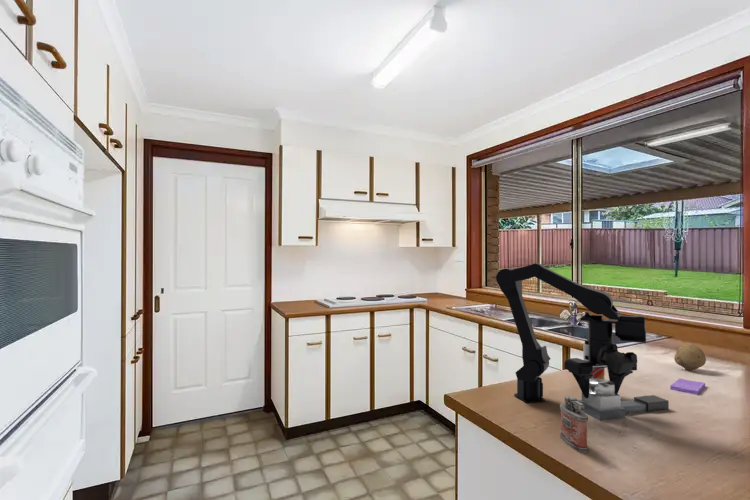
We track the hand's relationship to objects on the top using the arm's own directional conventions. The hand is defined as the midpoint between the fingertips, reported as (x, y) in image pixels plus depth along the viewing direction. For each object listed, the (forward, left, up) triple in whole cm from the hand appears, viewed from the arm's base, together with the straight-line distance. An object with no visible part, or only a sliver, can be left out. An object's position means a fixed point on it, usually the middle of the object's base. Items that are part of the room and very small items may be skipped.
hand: (600, 396), depth 105 cm
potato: (+66, +26, -5) cm, 71 cm away
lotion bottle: (+11, +14, -5) cm, 18 cm away
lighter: (-20, -13, -5) cm, 24 cm away
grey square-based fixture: (0, 0, -2) cm, 2 cm away
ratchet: (+8, 0, -5) cm, 9 cm away
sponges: (+45, +11, -5) cm, 47 cm away
